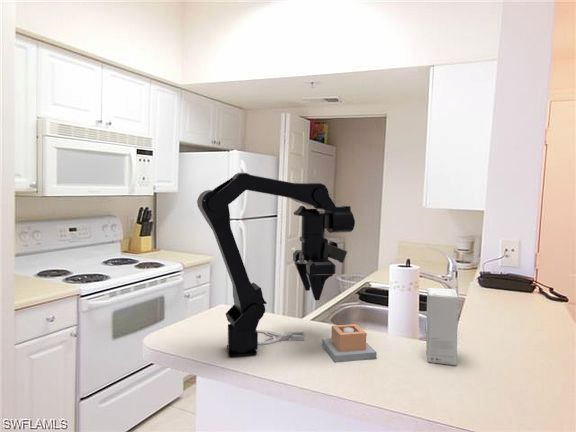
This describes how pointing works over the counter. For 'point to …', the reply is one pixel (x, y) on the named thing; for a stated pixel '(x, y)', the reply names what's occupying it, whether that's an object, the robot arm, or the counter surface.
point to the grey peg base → (348, 355)
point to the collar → (348, 338)
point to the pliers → (281, 337)
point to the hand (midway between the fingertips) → (312, 295)
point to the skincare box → (442, 326)
